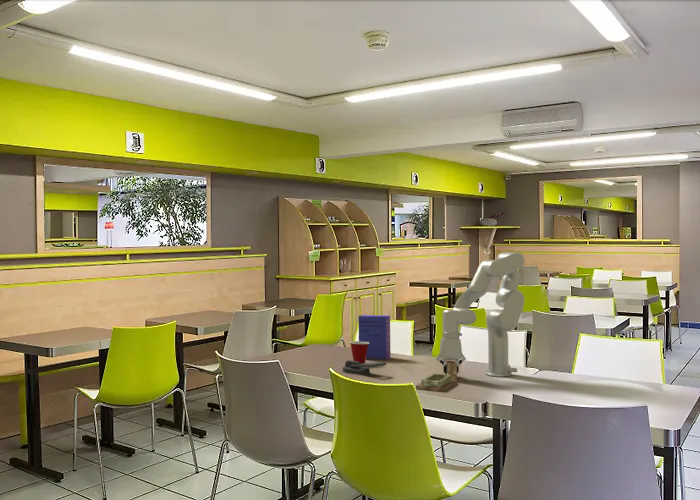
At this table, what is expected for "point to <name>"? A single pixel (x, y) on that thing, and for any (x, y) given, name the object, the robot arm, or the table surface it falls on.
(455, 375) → the tan rectangular block
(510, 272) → the robot arm
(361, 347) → the plastic cup
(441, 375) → the notch board
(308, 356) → the table surface
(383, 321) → the cereal box
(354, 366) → the dark grey long piece
